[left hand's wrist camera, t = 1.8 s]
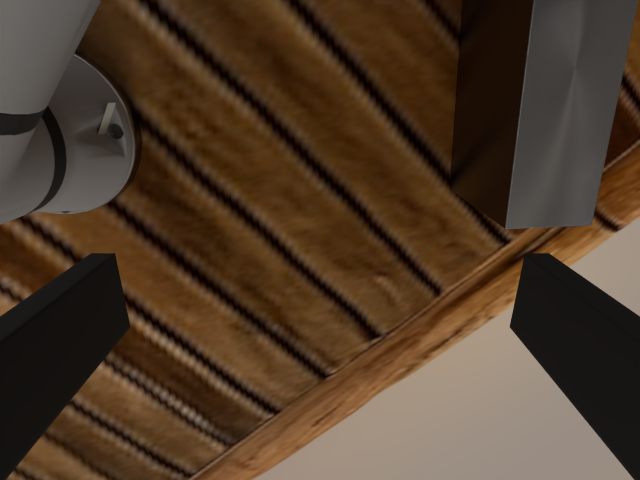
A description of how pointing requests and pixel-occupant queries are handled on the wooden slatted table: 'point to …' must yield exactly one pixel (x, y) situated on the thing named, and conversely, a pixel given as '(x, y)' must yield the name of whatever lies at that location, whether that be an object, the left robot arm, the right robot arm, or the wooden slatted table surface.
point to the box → (537, 106)
